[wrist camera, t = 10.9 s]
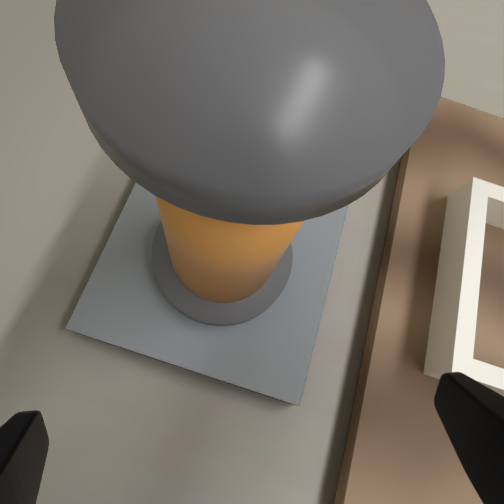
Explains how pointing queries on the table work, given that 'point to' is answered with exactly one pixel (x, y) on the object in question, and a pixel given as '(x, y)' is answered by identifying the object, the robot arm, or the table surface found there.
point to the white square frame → (463, 284)
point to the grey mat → (202, 335)
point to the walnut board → (422, 321)
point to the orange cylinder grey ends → (248, 123)
